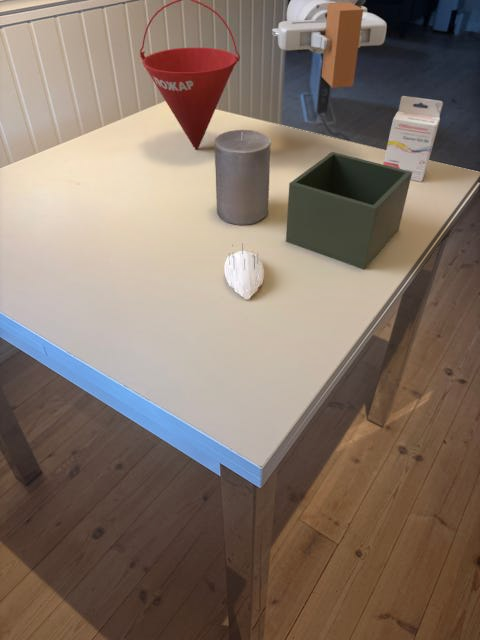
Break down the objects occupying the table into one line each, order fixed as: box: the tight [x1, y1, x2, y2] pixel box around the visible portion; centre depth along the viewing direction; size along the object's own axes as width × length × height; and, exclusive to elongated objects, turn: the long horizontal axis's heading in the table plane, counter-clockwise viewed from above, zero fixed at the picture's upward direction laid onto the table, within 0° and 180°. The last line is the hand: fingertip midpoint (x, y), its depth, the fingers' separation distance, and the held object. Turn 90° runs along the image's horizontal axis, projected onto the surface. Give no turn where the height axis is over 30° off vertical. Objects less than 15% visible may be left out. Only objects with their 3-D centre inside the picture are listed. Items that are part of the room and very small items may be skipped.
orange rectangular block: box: [321, 2, 363, 89], centre depth 87 cm, size 4×7×12 cm, turn 9°
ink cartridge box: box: [383, 95, 444, 183], centre depth 98 cm, size 9×5×15 cm, turn 65°
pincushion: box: [223, 243, 265, 300], centre depth 75 cm, size 12×6×6 cm, turn 4°
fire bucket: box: [139, 0, 241, 150], centre depth 104 cm, size 22×20×30 cm
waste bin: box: [285, 151, 412, 270], centre depth 82 cm, size 15×15×11 cm
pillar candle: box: [214, 129, 272, 226], centre depth 87 cm, size 10×10×15 cm
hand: (342, 43), depth 86 cm, fingers closed on orange rectangular block, 4 cm apart
